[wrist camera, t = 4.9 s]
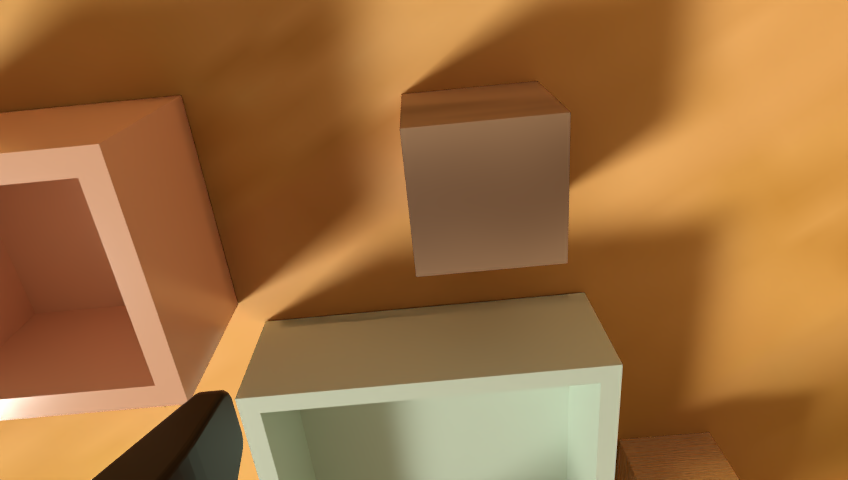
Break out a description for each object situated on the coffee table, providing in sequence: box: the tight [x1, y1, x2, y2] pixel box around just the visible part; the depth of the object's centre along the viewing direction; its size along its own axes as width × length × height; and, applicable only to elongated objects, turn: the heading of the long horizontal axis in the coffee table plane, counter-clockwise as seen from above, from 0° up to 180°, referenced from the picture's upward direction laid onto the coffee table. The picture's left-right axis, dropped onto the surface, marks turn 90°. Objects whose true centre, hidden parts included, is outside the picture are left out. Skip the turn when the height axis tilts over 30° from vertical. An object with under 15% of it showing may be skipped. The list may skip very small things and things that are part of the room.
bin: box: [235, 293, 623, 480], centre depth 21 cm, size 11×11×4 cm
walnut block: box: [400, 81, 571, 277], centre depth 16 cm, size 4×4×4 cm
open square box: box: [0, 95, 238, 421], centre depth 16 cm, size 7×7×5 cm
